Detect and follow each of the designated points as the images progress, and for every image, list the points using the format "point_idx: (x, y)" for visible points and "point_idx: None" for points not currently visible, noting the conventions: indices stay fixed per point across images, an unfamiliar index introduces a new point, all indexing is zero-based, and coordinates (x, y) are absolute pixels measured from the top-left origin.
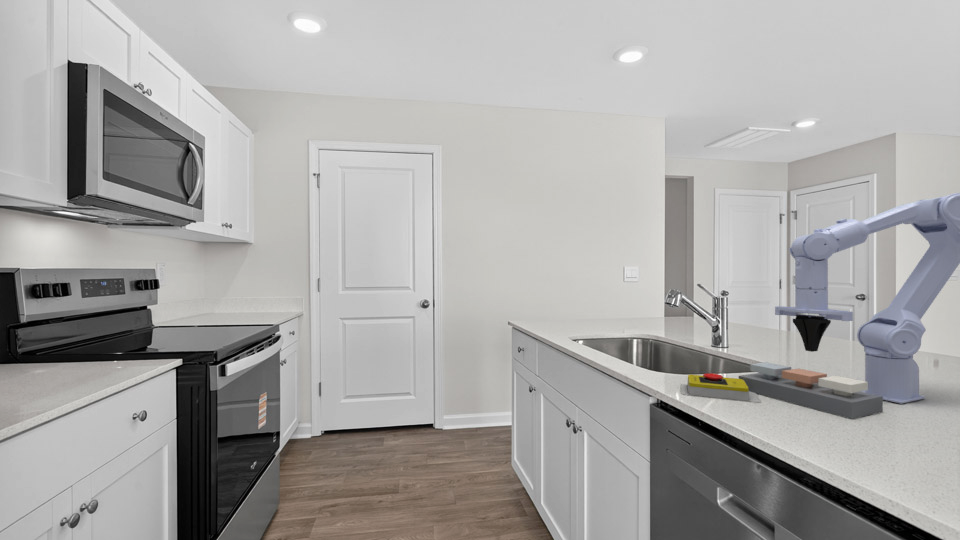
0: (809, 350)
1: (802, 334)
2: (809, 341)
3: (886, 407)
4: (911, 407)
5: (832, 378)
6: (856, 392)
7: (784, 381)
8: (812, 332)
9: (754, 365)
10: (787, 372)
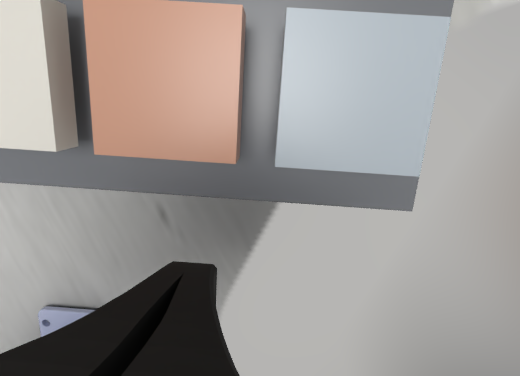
0: (185, 265)
1: (194, 329)
2: (150, 291)
3: (39, 236)
4: (18, 298)
5: (14, 63)
6: (25, 154)
7: (264, 76)
8: (52, 341)
9: (421, 15)
10: (210, 3)
